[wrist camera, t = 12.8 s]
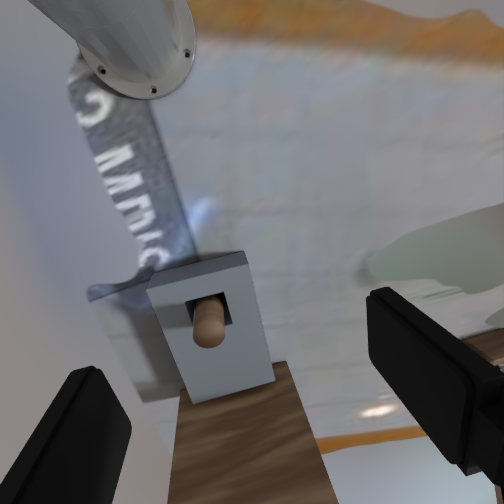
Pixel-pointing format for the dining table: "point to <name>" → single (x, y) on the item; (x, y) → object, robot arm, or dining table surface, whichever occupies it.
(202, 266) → the socket block
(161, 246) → the dining table surface
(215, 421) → the glass-topped wooden stand
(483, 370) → the robot arm
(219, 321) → the peg
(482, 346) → the display tray
